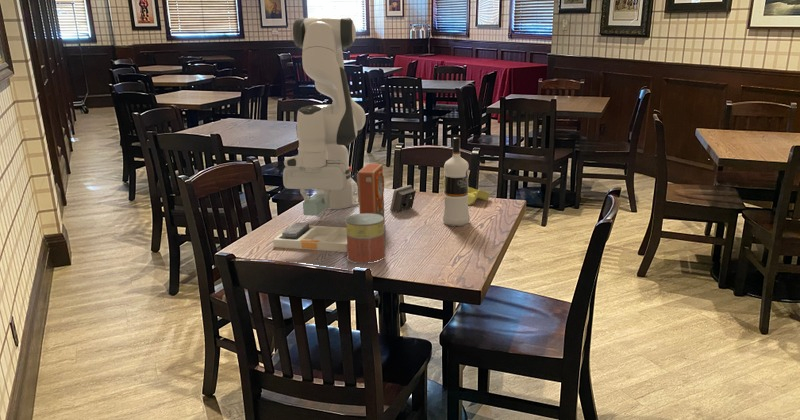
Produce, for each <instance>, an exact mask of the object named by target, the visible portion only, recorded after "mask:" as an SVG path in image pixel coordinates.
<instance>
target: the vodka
mask: <svg viewBox="0 0 800 420" xmlns="http://www.w3.org/2000/svg"><path fill="white" fill-rule="evenodd" d="M469 167H470V165H469V162H468V161H467V160H466V159H464V158H462V157H461V137H457V136H456V137H453V138H452V157H450V158H449V159H447V160H446V161H445V163H444V165H443V168H444V169H443V170H444V173H443V175H444V178H445V190H444V209H443V211H444V213H443V216H442V221H443V223H444V224H445V225H447V226H452V227H463V226H465V225H468V224H469V223H470V221H471V220H470V219H471V216H470V213H469V205H468V197H469V195H468V187H469Z"/></svg>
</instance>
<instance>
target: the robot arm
mask: <svg viewBox="0 0 800 420" xmlns="http://www.w3.org/2000/svg"><path fill="white" fill-rule="evenodd" d="M356 35H357V30H356V26H355V24H354V21H353V20H352V19H351V17H348V16H343V15H342V16H341V17H340V16H335V15H331V16H330V15H323V16H314V17H300V18H298V19H296V20H294V21H293V24H292V28H291V36H292V40H293V42H294V45H295V46H296V47H297V48H299V49H302V52H301V54H302V55H301V59H302V60H301V61H302V63H301V64H302V69H303V71H304V73H305V74H306V76H308V77H309V78H310V79H311V80H313V81H314V87H315V89H316V91H317V92H318V93H320V94H322V95H324V96H327V97H329V98H330V99H331V100H332V103H331V104H313V105H306V106H302V107H300V108H299V109H298V110H297V116H296V127H295V128H296V138H297V140H298V150H297V151H298V153H297V154H295V155H293V156H290V157H288V158H286V159H284V161H283V164H284V165H283V166H285V167H284V168H283V171H282V173H283V174H282V182H283V187H284V188H285V189H290V190H293V189H295V190H299V192H300V195H301V196H302V197H303V202H305V201H306V200H308V199H309V198H311V197H312V196H310V195H308V193H307V192H306V191H308V190H313V191H314V190H316V194H326V195H325V197H323V198H322V203H323V204H327V203H328V197H329V198H330V207H328V208H327V209H330V210H338V209H346V208H350V207H358V206H359V203H358V191H357V181H355V180H354V179H353V178H352V173H351V172H352V170H353V169H352V168H353V167H352V166H349V165H350V164H349V151H348V150H349V149H348V148H347V147H346V146H349V145H351V144H352V143H353V142H354V141H355V140H356V139H357V138H358V137H357V136H358V131H360V130H362V129H363V128H364V127H365V124H366V121H367V120H366V119H367V118H366V116H367V115H366V113H365V110H364V108H363V107H362V106H361V105H360V104H358V103H357V102H356V101H354V100H353V98H352V97H351V91H350V85H349V81H348V76H347V73H346V71H345V62H344V54H343V53H344V51H347V49H349V48H351V47H352V45H354V43H355V40H356ZM327 209H326V210H327Z"/></svg>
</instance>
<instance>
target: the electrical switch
mask: <svg viewBox="0 0 800 420" xmlns="http://www.w3.org/2000/svg"><path fill="white" fill-rule="evenodd" d="M416 191H417V190H416V189H414V188H413V185H411V184H409V185H405V186H401V187H399V188H396V189H395V188H394V190H393V193H392V199H391V202H390V203H391V204H390V208H389V210H390V212H391V213H392V212H395V213H397V214H400V213H403V212H405V211H409V210H412V209H411V208H413V206H414V205H413V204H414V201H415V196H416V193H417V192H416ZM402 211H403V212H402ZM399 212H400V213H399Z"/></svg>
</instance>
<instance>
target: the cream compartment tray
mask: <svg viewBox="0 0 800 420" xmlns="http://www.w3.org/2000/svg"><path fill="white" fill-rule="evenodd" d="M290 227H291V226H289V227H288V228H290ZM286 230H287V229H284V231H286ZM284 231H282V232H281V233H280V234H277V236H275V237H274V238H273V239H272V240H273V241H272V243H273V244H272V245H273V248H282V249H283V248H285V249H298V250H299V249H300V250H311V251H312V250H313V251H327V252H340V253H341V252H342V253H346V254H348V248H347V229H346V227H345V226H344V227H343V226H342V227H341V226H325V225H324V226H322V225H310V224H309V231H307V232H306V233H305V234H304V235H302V236H301V237H300V238H299V239H297V240H296V239H283V237H282V233H283V232H284Z"/></svg>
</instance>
